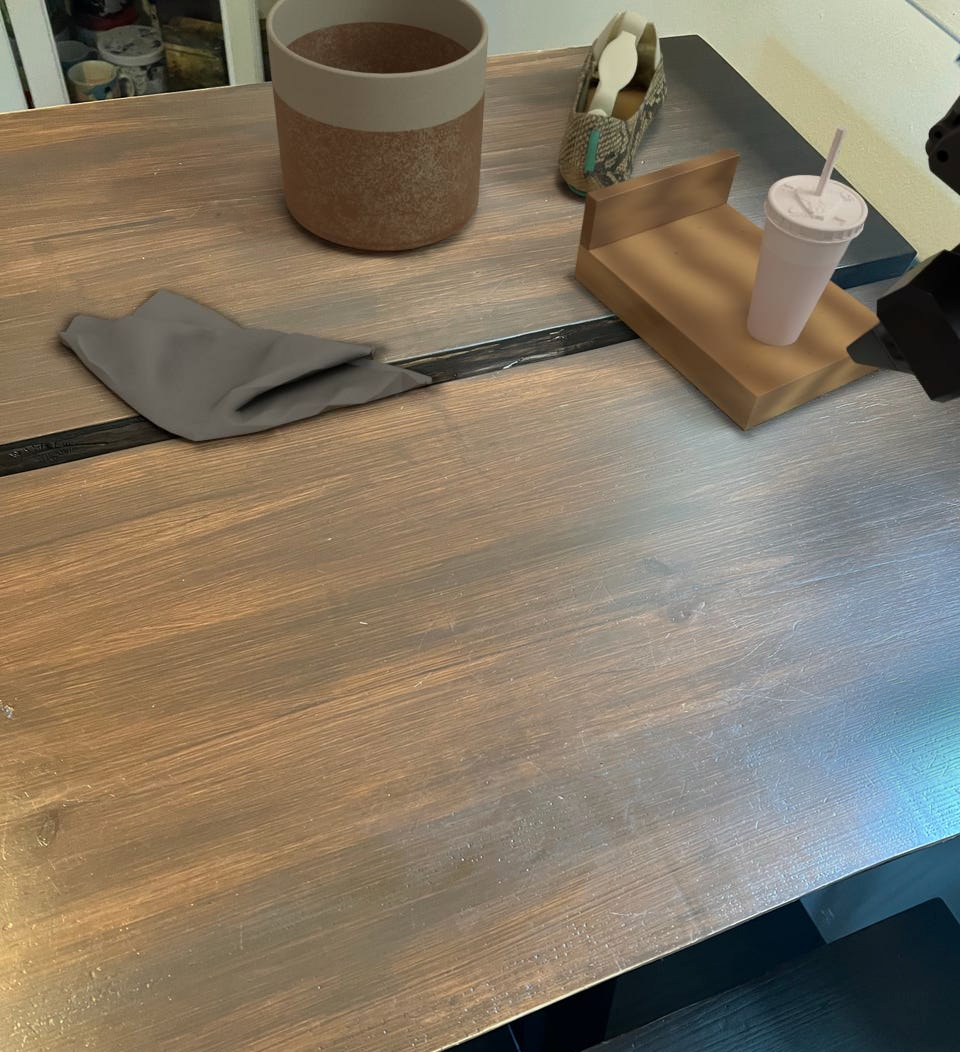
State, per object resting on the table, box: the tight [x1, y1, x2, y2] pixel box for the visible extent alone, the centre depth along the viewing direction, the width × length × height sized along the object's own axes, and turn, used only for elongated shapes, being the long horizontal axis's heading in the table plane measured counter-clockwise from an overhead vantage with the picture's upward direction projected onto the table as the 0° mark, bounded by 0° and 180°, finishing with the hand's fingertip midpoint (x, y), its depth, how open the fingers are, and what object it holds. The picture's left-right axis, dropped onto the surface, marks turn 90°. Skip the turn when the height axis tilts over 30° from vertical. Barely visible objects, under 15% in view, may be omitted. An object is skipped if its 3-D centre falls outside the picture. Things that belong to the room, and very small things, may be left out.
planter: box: [265, 0, 489, 252], centre depth 77 cm, size 16×16×14 cm
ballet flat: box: [557, 9, 668, 198], centre depth 87 cm, size 8×25×9 cm, turn 166°
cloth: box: [56, 289, 433, 442], centre depth 68 cm, size 26×14×2 cm, turn 71°
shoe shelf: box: [573, 147, 881, 431], centre depth 73 cm, size 14×20×7 cm
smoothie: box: [747, 125, 869, 346], centre depth 65 cm, size 6×6×14 cm
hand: (896, 311), depth 59 cm, fingers open, 9 cm apart
